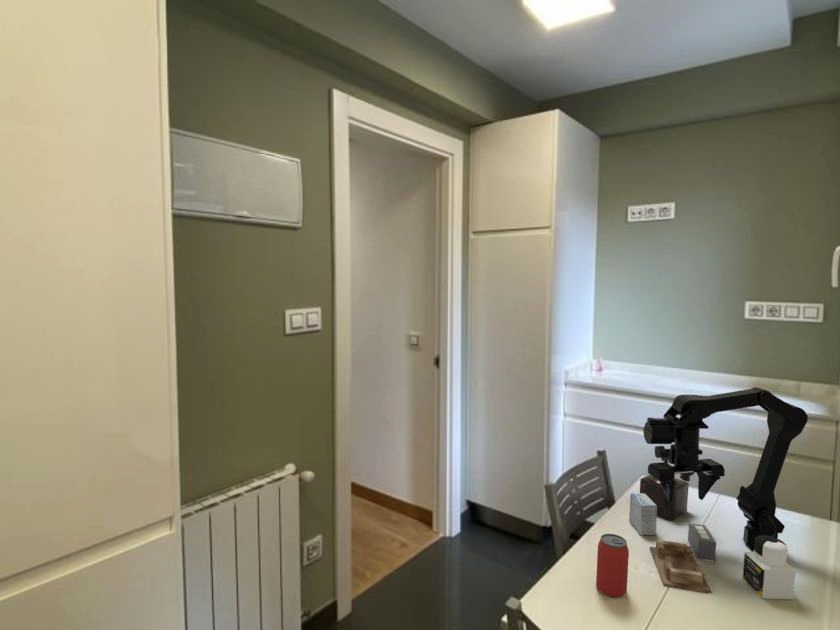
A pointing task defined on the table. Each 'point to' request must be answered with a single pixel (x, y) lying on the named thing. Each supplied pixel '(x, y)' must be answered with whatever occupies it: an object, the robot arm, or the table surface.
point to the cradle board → (678, 566)
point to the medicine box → (643, 514)
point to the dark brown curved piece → (657, 495)
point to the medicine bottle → (769, 569)
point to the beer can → (612, 565)
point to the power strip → (702, 542)
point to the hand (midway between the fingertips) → (685, 500)
